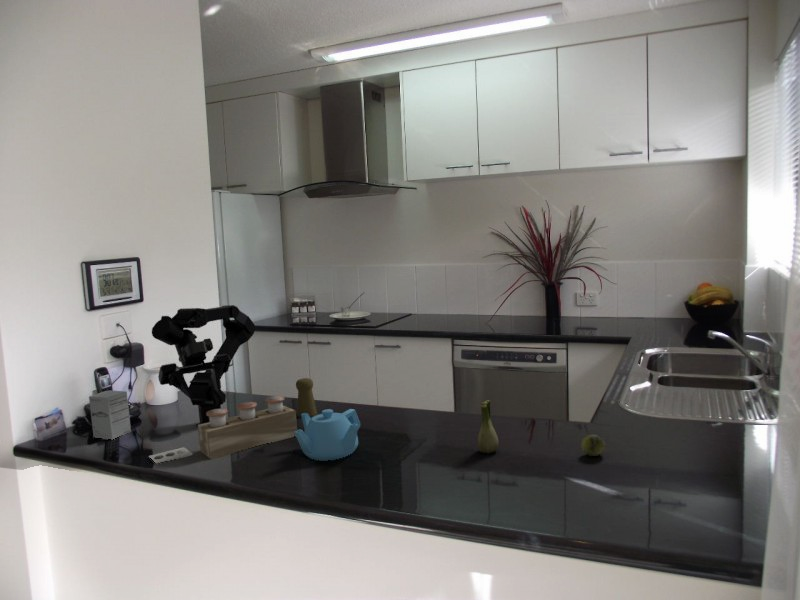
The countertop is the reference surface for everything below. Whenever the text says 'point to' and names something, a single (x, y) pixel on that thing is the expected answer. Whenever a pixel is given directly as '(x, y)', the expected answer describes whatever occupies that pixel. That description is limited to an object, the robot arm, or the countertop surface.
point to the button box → (247, 432)
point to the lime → (593, 445)
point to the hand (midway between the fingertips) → (204, 393)
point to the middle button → (247, 410)
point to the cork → (305, 397)
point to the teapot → (329, 435)
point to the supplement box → (110, 414)
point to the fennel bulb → (487, 431)
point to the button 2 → (275, 404)
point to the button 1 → (217, 417)
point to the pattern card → (170, 455)
